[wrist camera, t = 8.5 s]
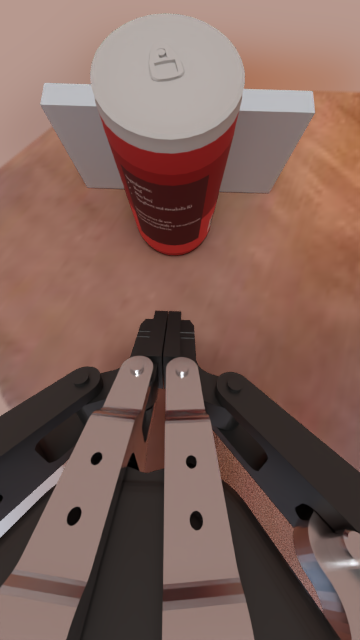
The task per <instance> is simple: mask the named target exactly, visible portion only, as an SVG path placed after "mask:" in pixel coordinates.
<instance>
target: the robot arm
mask: <svg viewBox="0 0 360 640" xmlns="http://www.w3.org/2000/svg"><path fill="white" fill-rule="evenodd" d="M163 384H164V389H166V414H165V468H164V469H160V470H157V471H153V472H150V473H144V470H145V464H146V456H147V445H148V440H149V435H150V431H151V426H152V421H153V416H154V412H155V407H156V400H157V394H158V388H161V389H163ZM212 430H213V431H214V432H215V433H216V434H217V436H218V437H219V438H220V439H221V440H222V442H223V443H224V444H225V445H226V446H227V448H228V449H229V450H230V451H231V453H232V454H233V455H234V456H235V457H236V459H237V460H238V461H239V462H240V463H241V465H242V466H243V467H244V468H245V469H246V471H247V472H248V473H249V474H250V476H251V477H252V478H253V479H254V480H255V482H256V483H257V484H258V485H259V486H260V488H261V489H262V490H263V491H264V492H265V494H266V495H267V496H268V497H269V499H270V500H271V501H272V502H273V503H274V505H275V506H276V507H277V508H278V509H279V511H280V512H281V513H282V514H283V515H284V517H285V518H286V519H287V520H288V521H289V523H290V524H291V525H292V526H293V528H294V531H293V543H294V548H295V552H296V555H297V558H298V560H299V562H300V564H301V566H302V568H303V570H304V572H305V573H306V575H307V576H308V578H309V579H310V581H311V583H312V584H313V586H314V588H315V590H316V592H317V595H318V597H319V599H320V602H321V606H322V609H323V613H324V614H323V613H322V611H321V610H320V609H319V607H318V606H317V604H316V603H315V601H314V600H313V599H312V597H311V596H310V594H309V593H308V591H307V590H306V589H305V587H304V586H303V584H302V583H301V581H300V580H299V579H298V577H297V576H296V574H295V573H294V571H293V570H292V569H291V567H290V566H289V564H288V563H287V561H286V560H285V559H284V557H283V556H282V554H281V553H280V552H279V550H278V549H277V547H276V546H275V544H274V543H273V542H272V540H271V539H270V537H269V536H268V534H267V533H266V532H265V530H264V529H263V527H262V526H261V524H260V523H259V522H258V520H257V519H256V517H255V516H254V514H253V513H252V512H251V510H250V509H249V507H248V506H247V504H246V503H245V502H244V500H243V499H242V498H241V497H240V496H239V494H238V493H237V492H236V491H235V490H234V489H233V488H232V487H231V486H229V485H228V484H227V483H226V482H224V481H223V480H221V476H220V470H219V465H218V459H217V454H216V448H215V443H214V437H213V432H212ZM68 459H69V460H68ZM67 460H68V462H67V464H66V466H65V468H64V470H63V473H62V475H61V477H60V479H59V481H58V483H57V484H56V485H55V486H54V487H52V488H51V489H50V490H49V491H48V492H46V493H45V494H44V495H43V496H42V497H41V498H40V499H39V500H38V501H37V502H36V503H35V504H34V505H33V506H32V507H31V508H30V509H29V510H28V511H27V512H26V513H25V514H24V515H23V516H22V517H21V518H20V519H19V520H18V521H17V522H16V523H15V524H14V525H13V526H12V527H11V528H10V529H9V530H8V531H7V532H6V533H5V534H4V535H3V536H2V537H1V538H0V640H360V472H358V471H357V470H356V469H355V468H354V467H352V466H351V465H350V464H349V463H348V462H346V461H345V460H344V459H343V458H342V457H340V456H339V455H338V454H337V453H336V452H334V451H333V450H332V449H331V448H329V447H328V446H327V445H326V444H325V443H323V442H322V441H321V440H320V439H319V438H317V437H316V436H315V435H314V434H313V433H311V432H310V431H309V430H308V429H306V428H305V427H304V426H303V425H302V424H300V423H299V422H298V421H297V420H296V419H294V418H293V417H292V416H291V415H290V414H288V413H287V412H286V411H285V410H284V409H282V408H281V407H280V406H279V405H277V404H276V403H275V402H274V401H273V400H271V399H270V398H269V397H268V396H267V395H265V394H264V393H263V392H262V391H261V390H259V389H258V388H257V387H256V386H255V385H253V384H252V383H251V382H250V381H248V380H247V379H246V378H245V377H243V376H242V375H240V374H238V373H234V372H226V373H223V374H221V375H220V376H219V377H218V376H215V375H212V374H209V373H207V372H205V371H203V370H202V369H201V368H200V367H199V366H198V364H197V362H196V351H195V336H194V325H193V324H192V323H191V321H190V320H181V312H179V311H169V314H168V311H155V315H154V319H146V320H145V321H144V322H143V323H142V324H141V325H140V328H139V332H138V335H137V338H136V341H135V344H134V347H133V350H132V353H131V357H130V358H129V359H127V360H126V361H125V362H124V363H123V364H122V366H121V368H119V369H116V370H113V371H109V372H104V373H100V372H99V371H98V370H97V369H96V368H94V367H82V368H79V369H76V370H75V371H73V372H71V373H70V374H68V375H66V376H65V377H63V378H61V379H60V380H58V381H57V382H55V383H53V384H52V385H50V386H48V387H47V388H45V389H44V390H42V391H40V392H39V393H37V394H35V395H34V396H32V397H31V398H29V399H27V400H26V401H24V402H22V403H21V404H19V405H18V406H16V407H14V408H13V409H11V410H10V411H8V412H6V413H5V414H3V415H1V416H0V521H1V520H2V519H3V518H4V517H5V516H6V515H8V513H10V512H11V511H12V510H13V509H14V508H15V507H16V506H18V505H19V504H20V503H21V502H22V501H23V500H24V499H25V498H26V497H27V496H28V495H30V494H31V493H32V492H33V491H34V490H35V489H36V488H37V487H38V486H40V485H41V484H42V483H43V482H44V481H45V480H46V479H47V478H48V477H50V476H51V475H52V474H53V473H54V472H55V471H56V470H57V469H58V468H60V467H61V466H62V465H63V464H64V463H65V462H66V461H67Z"/></svg>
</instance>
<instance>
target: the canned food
mask: <svg viewBox="0 0 360 640" xmlns="http://www.w3.org/2000/svg"><path fill="white" fill-rule="evenodd" d="M90 77H91V87H92V90H93V93H94V97H95V103H96V106H97V109H98V112H99V115H100V118H101V121H102V124H103V128H104V131H105V134H106V136H107V139H108V142H109V145H110V148H111V151H112V154H113V157H114V160H115V163H116V165H117V168H118V171H119V174H120V177H121V180H122V183H123V186H124V189H125V191H126V194H127V197H128V200H129V203H130V206H131V209H132V212H133V215H134V217H135V220H136V223H137V226H138V229H139V232H140V234H141V235H142V237H143V239H144V240H145V241H146V242H147V243H148V244H149V245H150V246H151V247H152V248H154V249H155V250H157V251H159V252H161V253H163V254H167V255H182V254H185V253H188V252H190V251H192V250H194V249H195V248H196V247H198V246H199V245H200V244H201V242H202V241H203V240H204V239H205V237H206V236H207V234H208V231H209V229H210V225H211V221H212V217H213V213H214V210H215V206H216V202H217V198H218V194H219V190H220V186H221V182H222V179H223V175H224V171H225V167H226V163H227V159H228V155H229V151H230V147H231V144H232V140H233V136H234V131H235V127H236V122H237V118H238V114H239V110H240V106H241V101H242V93H243V88H244V84H245V75H244V68H243V64H242V60H241V57H240V56H239V54H238V52H237V50H236V48H235V47H234V46H233V44H232V43H231V42H230V41H229V39H228V38H227V37H226V36H224V35H223V34H222V33H221V32H220V31H218V30H217V29H216V28H213V27H212V26H210V25H209V24H207V23H205V22H203V21H201V20H198V19H195V18H192V17H189V16H184V15H179V14H156V15H148V16H144V17H140V18H137V19H135V20H132V21H130V22H128V23H125V24H124V25H122V26H121V27H119V28H118V29H116V30H115V31H113V32H112V33H111V34H110V35H109V36H108V37H107V38H106V39H105V40H104V41H103V42H102V44H101V45H100V47H99V48H98V50H97V51H96V53H95V56H94V59H93V62H92V65H91V72H90Z"/></svg>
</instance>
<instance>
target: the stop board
mask: <svg viewBox="0 0 360 640" xmlns="http://www.w3.org/2000/svg"><path fill="white" fill-rule="evenodd" d="M40 105H41V107H42V109H43V110H44V112H45V114H46V116H47V117H48V119H49V121H50V123H51V124H52V126H53V128H54V130H55V132H56V133H57V135H58V137H59V139H60V140H61V142H62V144H63V146H64V147H65V149H66V151H67V153H68V154H69V156H70V158H71V160H72V161H73V163H74V165H75V167H76V168H77V170H78V172H79V174H80V176H81V177H82V179H83V181H84V183H85V184H86V186H87V188H116V189H124V186H123V183H122V180H121V177H120V174H119V171H118V168H117V165H116V163H115V160H114V157H113V154H112V151H111V148H110V145H109V142H108V139H107V136H106V134H105V131H104V128H103V124H102V121H101V118H100V115H99V112H98V109H97V106H96V103H95V97H94V93H93V90H92V87H91V84H58V83H44V87H43V93H42V98H41V104H40ZM314 114H315V108H314V99H313V91H295V90H261V89H243V93H242V101H241V106H240V110H239V114H238V118H237V122H236V127H235V131H234V136H233V140H232V144H231V147H230V151H229V155H228V159H227V163H226V167H225V171H224V175H223V179H222V182H221V186H220V190H219V192H247V193H269V192H270V190H271V189H272V187H273V185H274V183H275V182H276V180H277V178H278V176H279V175H280V173H281V171H282V169H283V168H284V166H285V164H286V163H287V161H288V159H289V157H290V156H291V154H292V152H293V150H294V149H295V147H296V145H297V143H298V142H299V140H300V138H301V136H302V135H303V133H304V131H305V129H306V128H307V126H308V124H309V122H310V121H311V119H312V117H313V115H314Z"/></svg>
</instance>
